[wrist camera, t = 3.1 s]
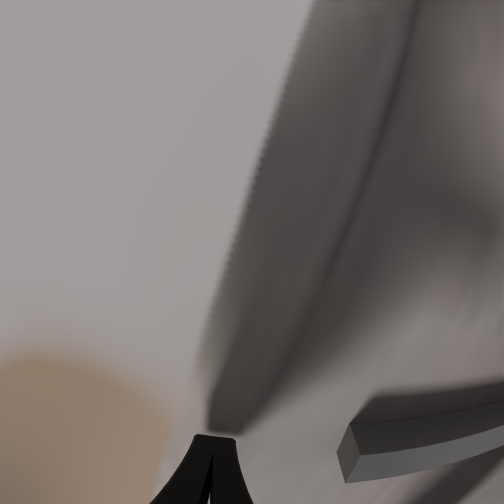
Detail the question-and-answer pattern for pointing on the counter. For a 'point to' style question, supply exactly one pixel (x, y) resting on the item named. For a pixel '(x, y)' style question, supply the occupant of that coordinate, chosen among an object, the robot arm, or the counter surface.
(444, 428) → the orange and grey bar
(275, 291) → the counter surface
